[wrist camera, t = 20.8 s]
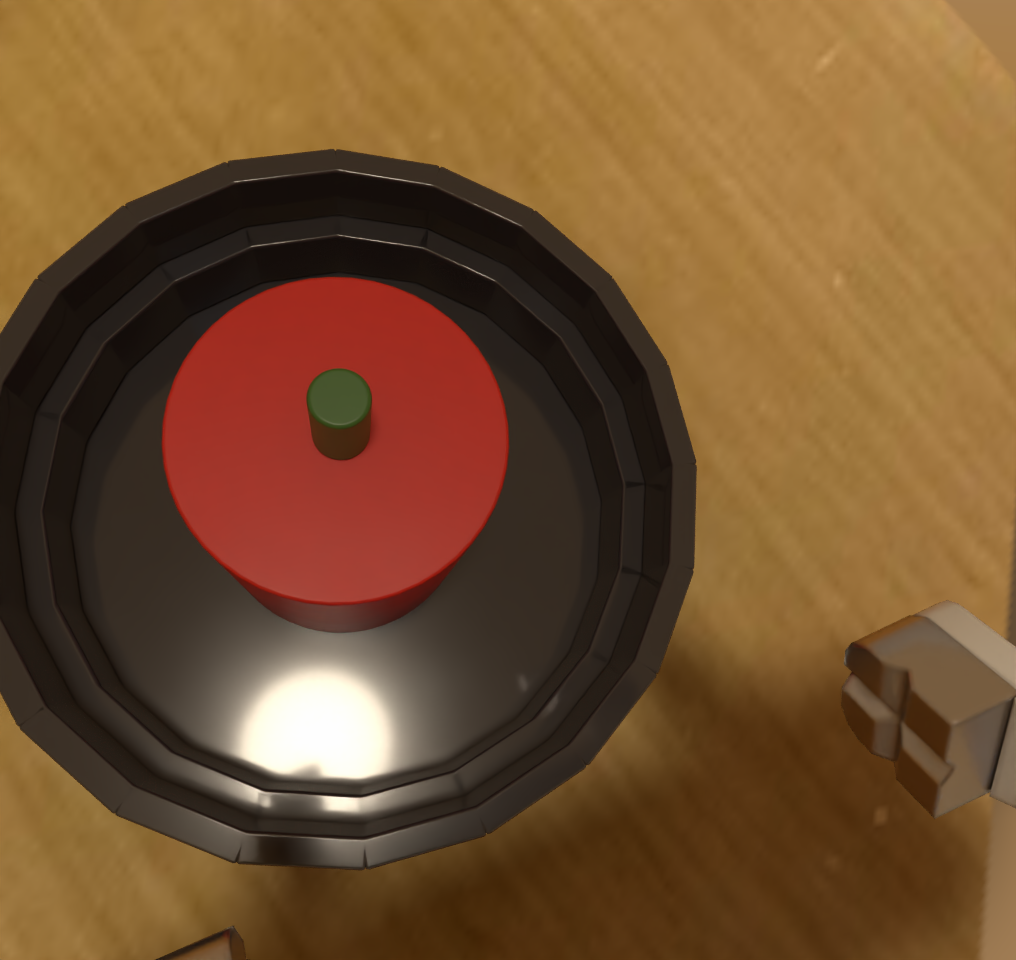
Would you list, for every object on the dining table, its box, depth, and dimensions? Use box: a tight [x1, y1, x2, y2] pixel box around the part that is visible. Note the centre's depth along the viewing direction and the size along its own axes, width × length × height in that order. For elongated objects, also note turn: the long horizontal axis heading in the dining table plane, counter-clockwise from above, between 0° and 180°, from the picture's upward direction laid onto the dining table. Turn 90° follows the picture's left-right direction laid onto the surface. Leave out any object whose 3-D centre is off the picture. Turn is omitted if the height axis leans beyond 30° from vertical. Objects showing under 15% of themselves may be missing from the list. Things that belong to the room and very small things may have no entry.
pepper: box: [162, 277, 509, 633], centre depth 18 cm, size 6×6×9 cm
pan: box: [0, 149, 697, 870], centre depth 21 cm, size 15×15×4 cm
